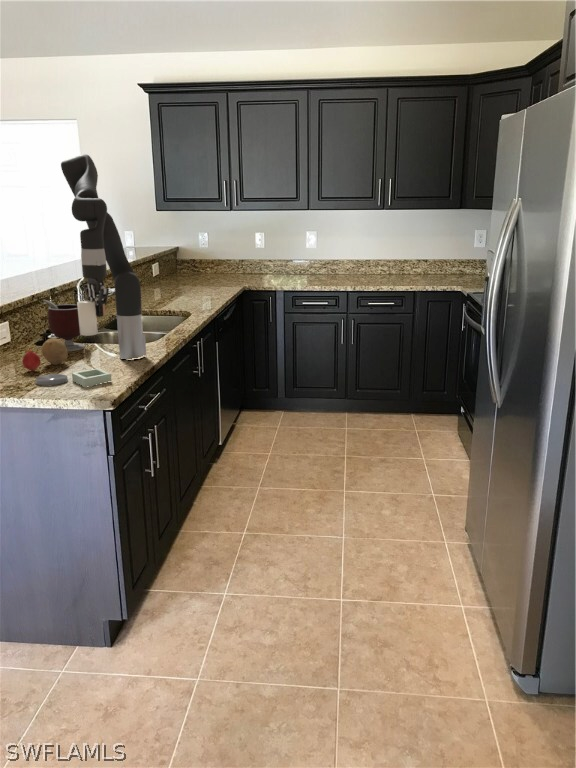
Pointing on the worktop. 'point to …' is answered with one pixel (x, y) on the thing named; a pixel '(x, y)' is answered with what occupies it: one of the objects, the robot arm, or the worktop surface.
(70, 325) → the mate gourd
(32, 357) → the onion
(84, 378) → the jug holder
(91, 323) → the jug
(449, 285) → the worktop surface
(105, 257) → the robot arm
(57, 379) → the coaster
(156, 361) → the worktop surface
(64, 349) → the natural sponge
